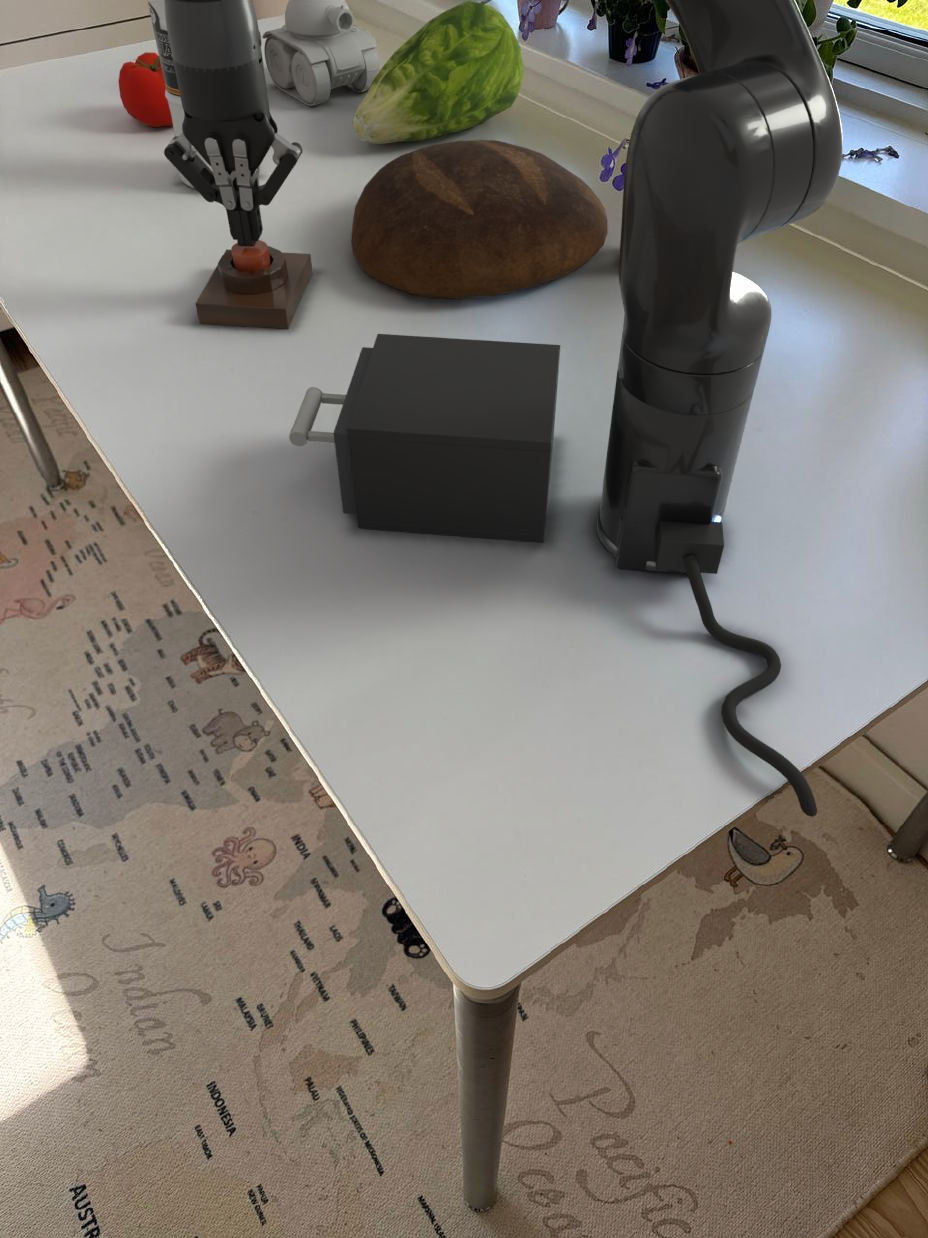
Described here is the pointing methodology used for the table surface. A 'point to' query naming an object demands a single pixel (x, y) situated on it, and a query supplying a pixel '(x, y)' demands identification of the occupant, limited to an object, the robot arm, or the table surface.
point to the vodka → (168, 71)
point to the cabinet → (454, 437)
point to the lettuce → (444, 78)
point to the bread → (475, 220)
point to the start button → (251, 257)
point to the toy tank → (320, 51)
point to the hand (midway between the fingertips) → (248, 242)
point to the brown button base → (255, 292)
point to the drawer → (339, 437)
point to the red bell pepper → (145, 91)
